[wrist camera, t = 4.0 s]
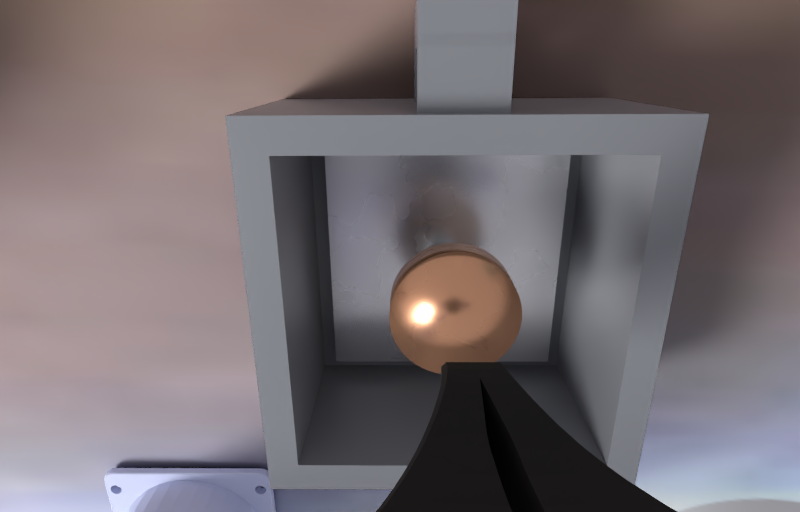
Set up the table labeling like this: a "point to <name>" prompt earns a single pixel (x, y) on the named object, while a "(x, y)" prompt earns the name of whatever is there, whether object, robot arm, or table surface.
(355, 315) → the plunger
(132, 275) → the table surface
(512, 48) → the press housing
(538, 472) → the robot arm
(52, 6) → the table surface
